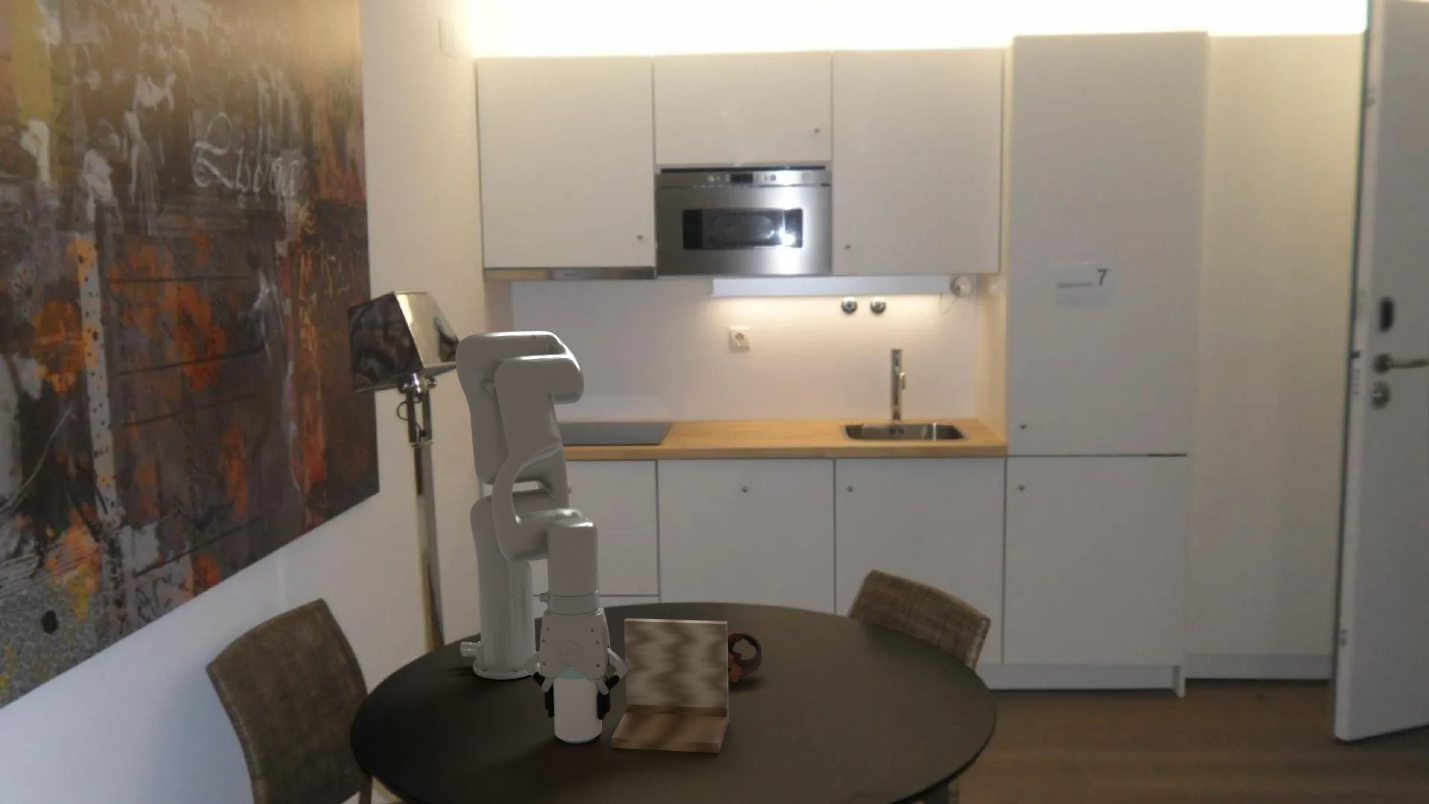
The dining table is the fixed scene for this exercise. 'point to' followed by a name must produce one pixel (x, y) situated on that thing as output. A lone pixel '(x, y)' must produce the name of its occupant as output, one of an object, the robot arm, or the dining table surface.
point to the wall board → (675, 686)
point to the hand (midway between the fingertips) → (578, 714)
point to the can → (576, 707)
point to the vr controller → (735, 657)
